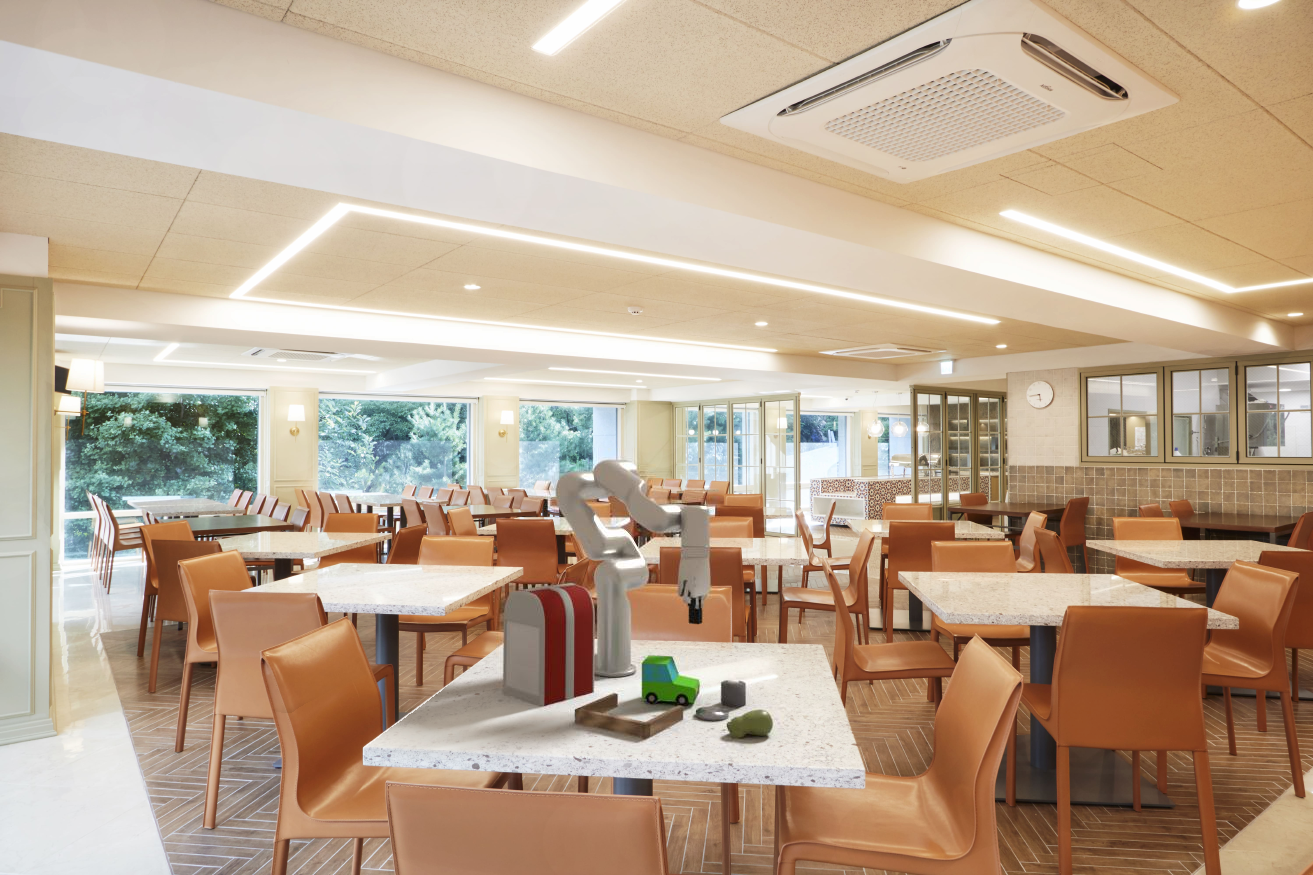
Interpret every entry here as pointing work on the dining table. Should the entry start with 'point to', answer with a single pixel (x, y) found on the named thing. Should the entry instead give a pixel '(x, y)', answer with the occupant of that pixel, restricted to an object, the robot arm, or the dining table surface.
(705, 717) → the shallow metal dish
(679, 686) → the toy car
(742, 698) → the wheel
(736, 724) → the pear
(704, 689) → the dining table surface
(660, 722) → the bay
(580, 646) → the red striped mailbox
